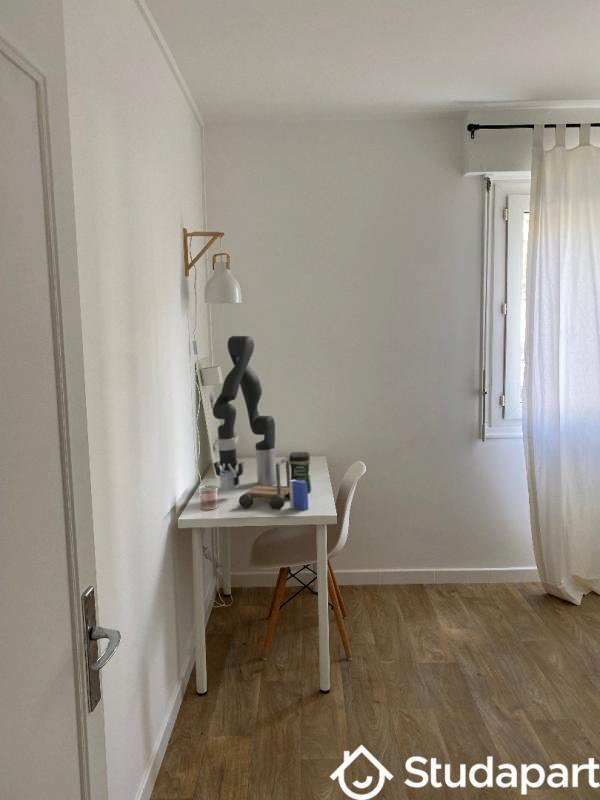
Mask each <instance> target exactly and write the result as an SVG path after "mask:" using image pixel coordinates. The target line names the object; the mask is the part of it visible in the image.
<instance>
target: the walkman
mask: <svg viewBox="0 0 600 800" xmlns="http://www.w3.org/2000/svg"><path fill="white" fill-rule="evenodd" d="M289 488H290V490H289V491H290V500H289V503H290V504H289V506H290V509H294V510H299V511H306V510H309V496H308V492H307V482H305V481H304V480H302V481H299V480H291V479H290V481H289Z"/></svg>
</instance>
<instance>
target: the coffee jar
mask: <svg viewBox="0 0 600 800" xmlns="http://www.w3.org/2000/svg"><path fill="white" fill-rule="evenodd" d="M310 463H311V456H310V452H309V451H292V452H291V453H289V465H290V480H299V481H302V480H304V481H305V482H307V492H308V493H311V491H312V481H311V474H310V473H311V472H310Z"/></svg>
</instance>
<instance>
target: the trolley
mask: <svg viewBox="0 0 600 800" xmlns="http://www.w3.org/2000/svg"><path fill="white" fill-rule="evenodd" d="M289 458H290V456H286V457H284V458H282V459H281V460H279V461H278V462H275V463H276V481H277V483H276V485H263V484H259V485H258V484H257V485H255V486H254V487H252V488H251V489H249V490H247V491H246V492H244V494H241V496H240V497H239V498H238V504H239V505H240V506H241V508H243V509H249V508H251V507H252V506H253V504H254V502H255V500H254V499H262V500H263V499H264V500H265V499H266V500H269V506H270V507H271V508H272V509H273V510H275V511H278V510H281V509H283V508H284V506H285V503H286V501H285V499H287V500H289V499H290V491H289V490H290V488H289V481H290V480H291V465H290V463H289ZM283 464H285V470H286V471H285V472H286V473H285V474H286V485H281V484H282V483H281V471H280V470H281V468H280V466H281V465H283ZM284 498H285V499H284Z"/></svg>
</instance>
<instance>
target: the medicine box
mask: <svg viewBox="0 0 600 800" xmlns="http://www.w3.org/2000/svg"><path fill="white" fill-rule="evenodd" d="M237 471H238V468H237ZM219 480H220V481H219V482H220V489H221V491H225V492H229V491H232V490H234V489H236V488H240V486H241V484H240V481H239V483H238V485H235V483H234V475H233V473H232V472H231V471H230V470H224V471H221V470H220V476H219Z"/></svg>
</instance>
